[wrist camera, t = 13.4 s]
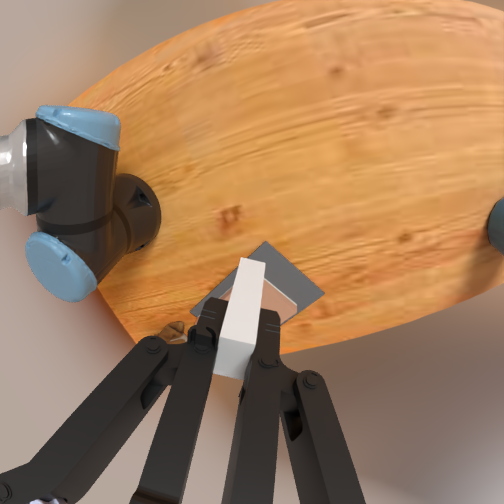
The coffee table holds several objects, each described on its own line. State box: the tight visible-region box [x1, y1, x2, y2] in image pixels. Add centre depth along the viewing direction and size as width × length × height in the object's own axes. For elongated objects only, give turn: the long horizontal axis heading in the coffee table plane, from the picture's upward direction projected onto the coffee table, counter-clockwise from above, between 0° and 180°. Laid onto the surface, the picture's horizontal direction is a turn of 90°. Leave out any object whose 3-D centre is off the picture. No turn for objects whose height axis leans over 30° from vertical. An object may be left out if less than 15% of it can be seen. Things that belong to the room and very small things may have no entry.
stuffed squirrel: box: [138, 321, 187, 344], centre depth 57 cm, size 10×14×13 cm
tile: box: [195, 278, 297, 325], centre depth 55 cm, size 2×12×18 cm
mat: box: [190, 241, 324, 326], centre depth 55 cm, size 24×16×1 cm, turn 138°
